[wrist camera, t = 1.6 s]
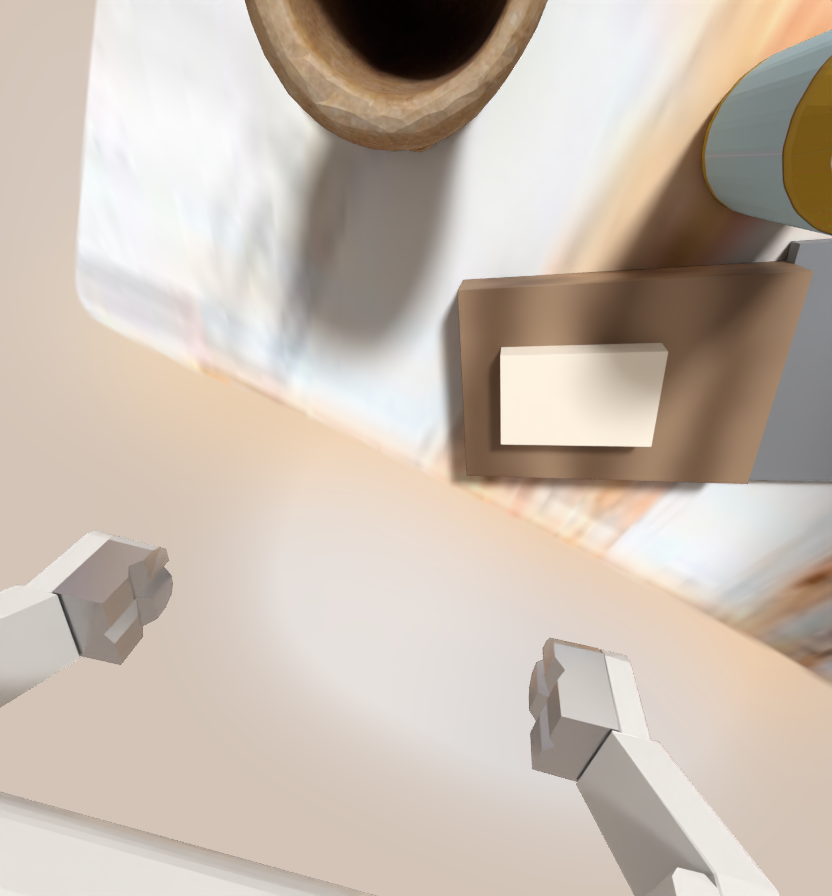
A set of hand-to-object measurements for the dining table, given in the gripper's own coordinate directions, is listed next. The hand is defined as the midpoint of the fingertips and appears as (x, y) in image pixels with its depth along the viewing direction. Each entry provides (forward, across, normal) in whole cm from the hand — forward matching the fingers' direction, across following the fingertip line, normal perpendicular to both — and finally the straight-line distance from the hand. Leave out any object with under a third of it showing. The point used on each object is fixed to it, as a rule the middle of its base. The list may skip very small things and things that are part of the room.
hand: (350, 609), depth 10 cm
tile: (+22, -8, +3) cm, 24 cm away
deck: (+25, -10, +2) cm, 27 cm away
